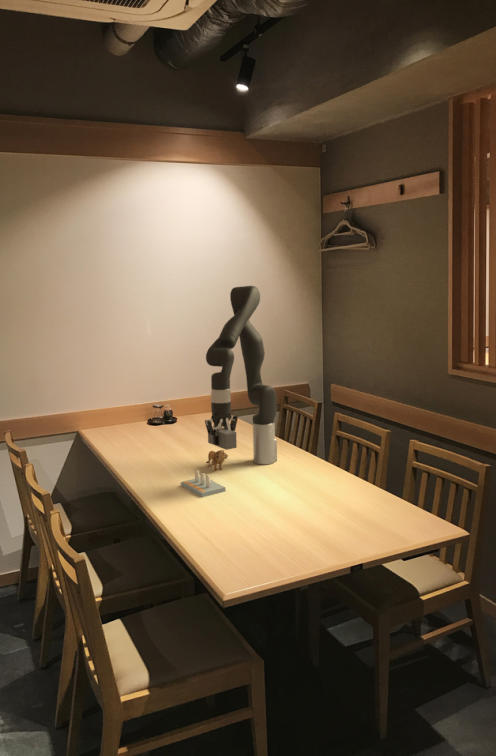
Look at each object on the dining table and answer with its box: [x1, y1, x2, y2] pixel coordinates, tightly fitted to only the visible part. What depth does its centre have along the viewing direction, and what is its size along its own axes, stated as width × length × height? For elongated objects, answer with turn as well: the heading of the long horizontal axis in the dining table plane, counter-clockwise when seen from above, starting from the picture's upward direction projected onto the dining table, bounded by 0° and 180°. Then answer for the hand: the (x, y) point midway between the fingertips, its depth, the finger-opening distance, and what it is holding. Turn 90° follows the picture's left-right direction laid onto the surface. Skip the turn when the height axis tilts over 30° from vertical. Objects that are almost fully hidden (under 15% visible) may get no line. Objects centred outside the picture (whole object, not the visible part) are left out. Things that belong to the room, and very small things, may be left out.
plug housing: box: [207, 426, 238, 451], centre depth 247 cm, size 5×13×6 cm, turn 35°
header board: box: [180, 469, 226, 498], centre depth 244 cm, size 10×16×6 cm, turn 35°
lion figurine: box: [205, 449, 229, 472], centre depth 268 cm, size 15×5×9 cm, turn 35°
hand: (221, 443), depth 247 cm, fingers closed on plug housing, 4 cm apart
